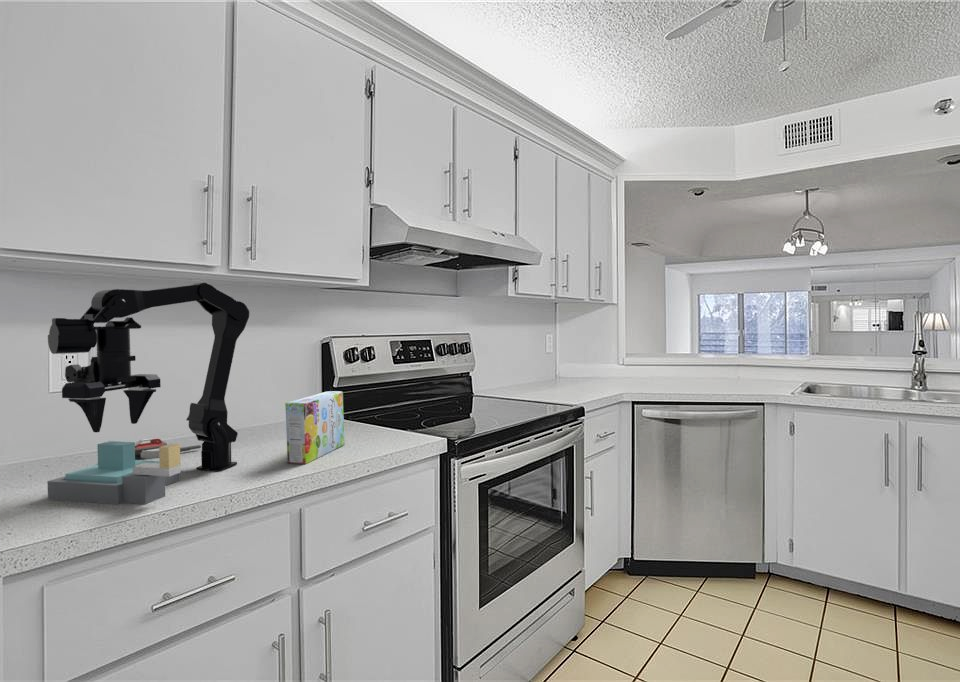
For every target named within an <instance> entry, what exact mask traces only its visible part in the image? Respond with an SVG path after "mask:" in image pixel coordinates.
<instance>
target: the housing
mask: <svg viewBox="0 0 960 682" xmlns="http://www.w3.org/2000/svg"><path fill="white" fill-rule="evenodd" d="M180 473H181V472H180ZM180 473H177V474H175V475H172V476H169V477H168V476H151V475H134V474H133V473H131V474H128V475H125V476H122V482H120V483H108V482H92V481H76V480H66V477H65V475H64V476H60V477H57V478H54V479H51V480H47V500H54V501H55V500H56V501H67V502H68V501H69V502H81V503H83V502H84V503H96V504H97V503H98V504H107V505H108V504H109V505H110V504H111V505H112V504H113V505H120V504H123V503H124V504H138V505H139V504H140V505H147V504H149V503H152V502H155V501H157V500H159V499H161V498H163V497H166V487H167V486H168V485H172V484H174V483H177V482H179V481H181V480H180V479H181V478H180V476H181V474H180Z"/></svg>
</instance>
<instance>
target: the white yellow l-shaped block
mask: <svg viewBox="0 0 960 682" xmlns="http://www.w3.org/2000/svg"><path fill="white" fill-rule="evenodd" d="M180 448H181V444H180V443H169V444H168V443H167V445H165V446H161V447H159V457H158V458H159V461H160V463H142V464H139V465H136V466H133V467H132V468H133V474H134V475H151V476H168V477H169V476H172V475H175V474H177V473H181V472H182V470H181V452H180Z"/></svg>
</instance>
